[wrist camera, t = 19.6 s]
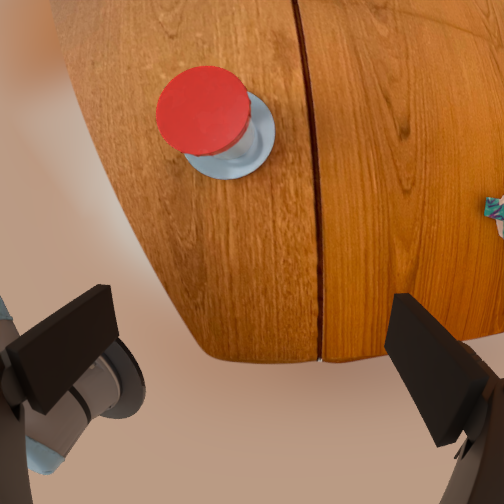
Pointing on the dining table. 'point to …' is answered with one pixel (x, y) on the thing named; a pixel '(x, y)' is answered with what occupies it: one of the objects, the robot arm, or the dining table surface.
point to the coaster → (247, 160)
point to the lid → (203, 111)
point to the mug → (496, 212)
